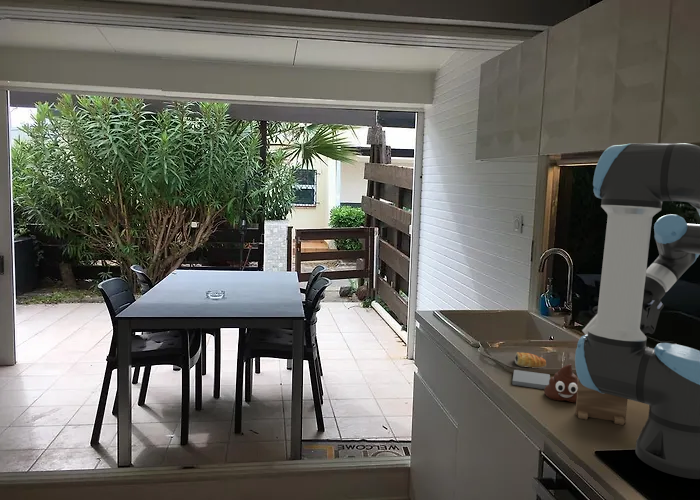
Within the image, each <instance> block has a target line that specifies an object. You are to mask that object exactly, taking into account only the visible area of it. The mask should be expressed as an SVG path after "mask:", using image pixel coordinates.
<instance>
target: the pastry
mask: <svg viewBox="0 0 700 500" xmlns="http://www.w3.org/2000/svg"><path fill="white" fill-rule="evenodd" d="M515 353H516V354H515V355H514V363H515V364H516V365H517V366H519V367H521V368H524V367H527V368H543V367H547V360H546V359H545V358H543V357H542V356H538V355H537V354H535V353H534V354H533V353H531V352H518V351H517V352H515Z"/></svg>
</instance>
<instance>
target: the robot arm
mask: <svg viewBox="0 0 700 500" xmlns="http://www.w3.org/2000/svg"><path fill="white" fill-rule="evenodd" d="M592 186H593V193H594V194H593V195H594V196H595V197H596V198H598V199H600V200H601V202H600V204H601V205H600V208H602V209H603V210H604V212H605V213H606V214H607V218H606V219H607V220H606V222H607V223H606V229H605V238H604V239H605V240H604V247H603V248H604V249H603V259H602V266H601V267H602V268H601V277H600V284H599V285H600V286H599V295H598V296H599V297H598V303H597V304H598V305H596V306H594V307H593V308H592V311H593V312H594V315H593V316H592V317H591V319H590V320H589V321H588V323H587V324H586V325H585V327H583V328H582V329H581V331H582V333H583V334H584V335H581V337H580V338H579V339H578V341H577V344H576V346H577V347H576V349H575V356H574V364H575V365H574V367H575V371H576V372H575V373H576V376H577V379H579V380H580V382H581V384H582V385H583V386H585V387H587V388H589V389H592V390H596V391H598V392H600V393H603V394H605V393H606V394H610V395H614V396H618V397H621V398H625V399H628V400H629V401H634V402H637V403H642V404H645V405H648V417H647V420H646V421H645V424H644V426H643V427H642V429H641V431H640V432H639V435H638V437H637V439H636V442H635V455H636V456H637V458H638V459H639V460H640V461H642V462H643V463H644V464H645V465H647V466H649V467H652V468H653V469H655V470H657V471H660V472H663V473H666V474H669V475H672V476H675V477H680V478H685V479H693V480H700V350H698V349H696V348H693V347H689V346H686V345H681V344H677V343H670V342H660V343H657V344H656V345H655V347H654V348H653V347H649V346H647V339H648V338H647V336H646V335H645V334H650V335H653V334H654V333H655V331H656V328H657V324H658V320H659V317H660V314H661V311H662V310H663V309H664V308H665V307H664V304H663V303H662V301H661V300H662V298H663V297H664V296H665V295H666V293H667V292H668V291H669V290H670V289H671V288H672V287H673V286H674V284H676V282H677V281H678V280H679V279H680V278H681V277H682V275H683V274H684V273H685V272H686V271H687V270H688V269H689V268H690V267H691V266H692V265H693V264H694V263H695V262H696V261H697V258H699V256H700V224H698V223H697V224H696V223H687V222H686V220H685V218H684V217H682V216H680V215H678V214H671V213H670V214H666V215H663V216H661V217H659V218H658V219H656V222H655V223H654V224H653V225H654V226H653V229H654V230H653V231H654V235H653V237H654V240H655V243H656V246H657V250H658V254H659V255H658V256H657V257H656V259H655V260H654V261H653V262H652V263H651V264H650V265H649V266H648V260H649V259H648V258H649V249H650V240H651V231H652V223H653V217H654V216H655V215H656V214H658V213H659V212H661V211H662V208H663V207H662V206H663V202H682V203H683V202H684V203H688V204H690V205H691V207H693V208H695V209H696V211H697V213H698V215H699V217H700V145H696V144H691V143H685V142H684V143H681V142H680V143H627V144H626V143H625V144H614V145H611V146H609V147H607V148H606V149H605V150H604V151H603V152H602V154H601V156H600V157H599V159H598V161H597V164H596V167H595V169H594V175H593V181H592ZM648 310H649V311H648Z"/></svg>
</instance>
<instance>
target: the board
mask: <svg viewBox="0 0 700 500" xmlns="http://www.w3.org/2000/svg"><path fill="white" fill-rule="evenodd" d="M550 378H551V375H550V374H548V373H542V372H541V373H540V372H536V371H534V372H533V371H527V370H519V369H514V370H513V375H512V382H511V384H512V385H513V386H518V387H519V386H520V387H527V388H533V389H540V390H545V387H546V386H547V385H548V384H549V380H550Z"/></svg>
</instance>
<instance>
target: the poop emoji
mask: <svg viewBox="0 0 700 500" xmlns="http://www.w3.org/2000/svg"><path fill="white" fill-rule="evenodd" d="M572 367H573V366H572V363H568V364H565V366H562V367H561V368H560V369H559V370H558V371H557V372H555V373H554V375H553V376H550V380H549V384H548V385H547V386H546V387H545V389H543V391H544V394H545V395H546V397H547V398H549V399H551V400H554V401H567V402H569V403H573V404H574V403H575V404H576V401H577V389H578V376H577V374H575V373H574V372H573V368H572Z"/></svg>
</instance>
